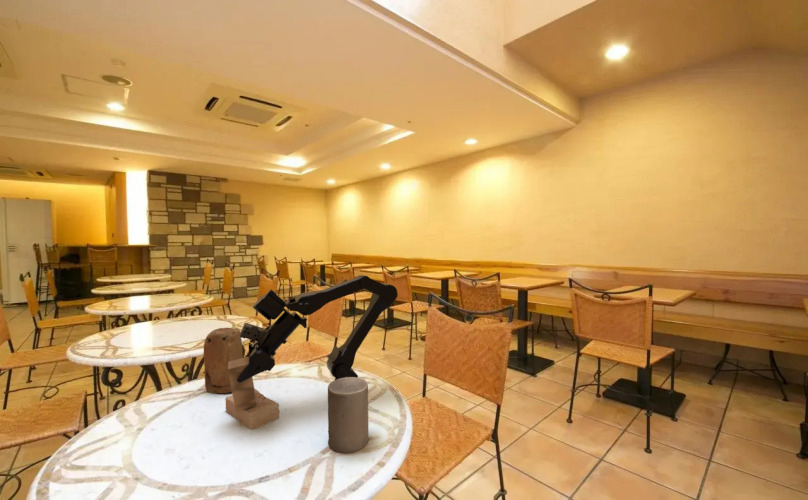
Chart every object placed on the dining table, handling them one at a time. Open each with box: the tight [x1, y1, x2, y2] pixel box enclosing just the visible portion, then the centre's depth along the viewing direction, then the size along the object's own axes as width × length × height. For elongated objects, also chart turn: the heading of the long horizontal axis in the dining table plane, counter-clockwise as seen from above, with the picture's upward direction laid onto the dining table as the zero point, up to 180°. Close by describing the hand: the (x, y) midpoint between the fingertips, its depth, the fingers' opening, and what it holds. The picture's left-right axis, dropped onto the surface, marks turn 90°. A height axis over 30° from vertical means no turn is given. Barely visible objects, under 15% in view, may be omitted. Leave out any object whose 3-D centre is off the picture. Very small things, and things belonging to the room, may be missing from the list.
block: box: [203, 327, 243, 394], centre depth 111 cm, size 11×8×20 cm
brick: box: [224, 387, 280, 430], centre depth 95 cm, size 17×8×5 cm, turn 50°
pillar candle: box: [327, 377, 369, 454], centre depth 80 cm, size 10×10×15 cm
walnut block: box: [228, 356, 256, 412], centre depth 90 cm, size 5×5×12 cm
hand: (238, 376), depth 90 cm, fingers open, 7 cm apart
